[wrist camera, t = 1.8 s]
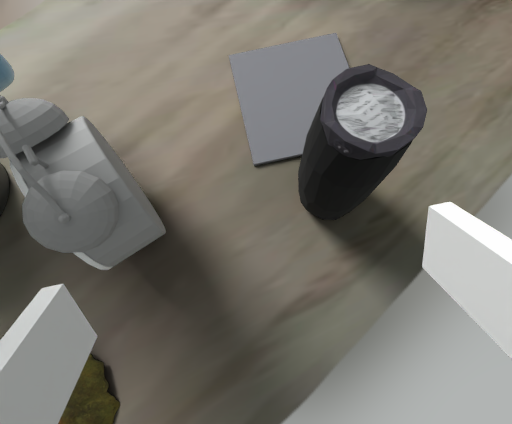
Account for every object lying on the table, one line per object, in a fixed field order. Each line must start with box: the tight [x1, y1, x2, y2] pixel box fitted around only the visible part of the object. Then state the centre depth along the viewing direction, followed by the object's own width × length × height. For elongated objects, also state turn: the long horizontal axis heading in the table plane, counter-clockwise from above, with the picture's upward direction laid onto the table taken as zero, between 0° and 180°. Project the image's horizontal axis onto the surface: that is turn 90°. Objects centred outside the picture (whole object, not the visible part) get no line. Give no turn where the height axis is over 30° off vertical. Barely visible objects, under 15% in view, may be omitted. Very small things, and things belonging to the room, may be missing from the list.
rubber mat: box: [229, 33, 349, 166], centre depth 45 cm, size 20×18×1 cm
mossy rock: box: [58, 354, 120, 424], centre depth 34 cm, size 13×14×4 cm
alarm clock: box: [0, 95, 166, 270], centre depth 31 cm, size 16×9×22 cm, turn 36°
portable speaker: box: [298, 64, 427, 220], centre depth 31 cm, size 9×9×20 cm
